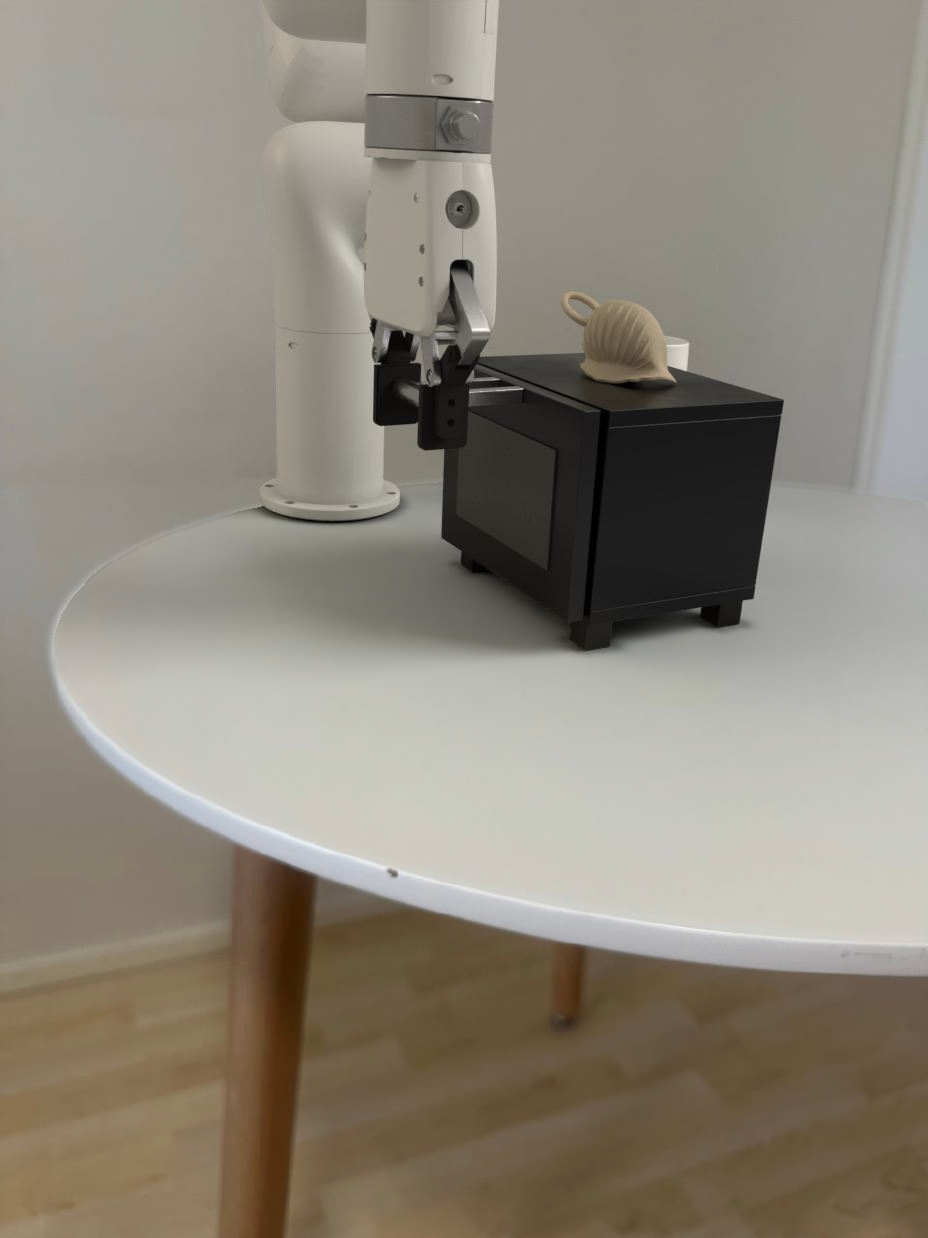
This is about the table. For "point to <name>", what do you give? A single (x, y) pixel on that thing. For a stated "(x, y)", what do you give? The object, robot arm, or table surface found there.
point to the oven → (666, 491)
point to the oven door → (522, 487)
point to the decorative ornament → (620, 341)
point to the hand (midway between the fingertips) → (418, 432)
